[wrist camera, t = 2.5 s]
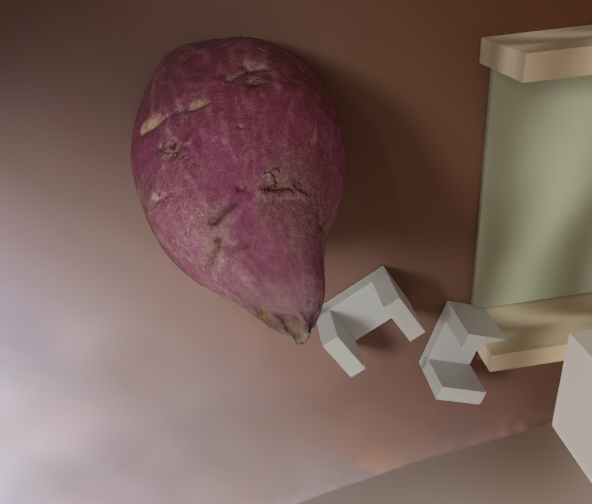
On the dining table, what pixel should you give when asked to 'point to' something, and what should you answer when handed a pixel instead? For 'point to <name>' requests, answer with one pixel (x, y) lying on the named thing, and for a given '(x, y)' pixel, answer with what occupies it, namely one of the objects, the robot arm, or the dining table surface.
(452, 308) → the clip
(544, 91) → the tray
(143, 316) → the dining table surface
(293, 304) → the vegetable
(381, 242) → the dining table surface
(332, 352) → the clip
